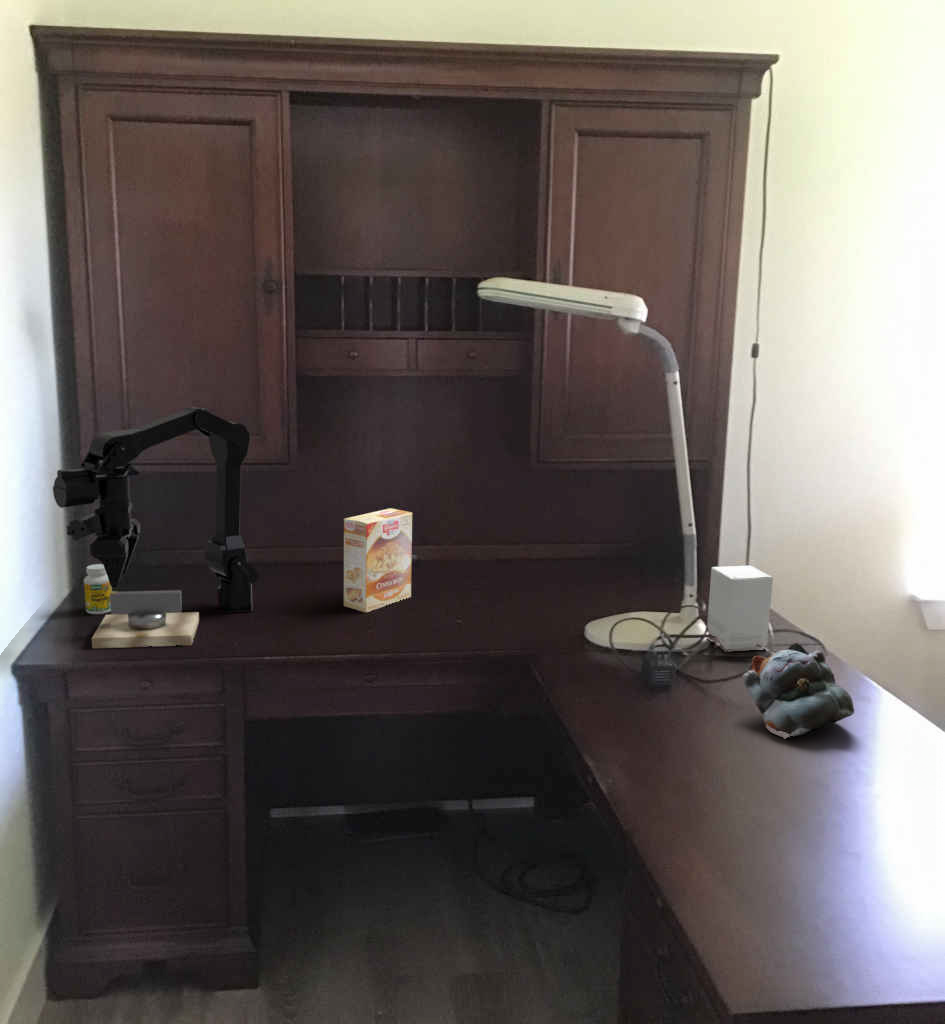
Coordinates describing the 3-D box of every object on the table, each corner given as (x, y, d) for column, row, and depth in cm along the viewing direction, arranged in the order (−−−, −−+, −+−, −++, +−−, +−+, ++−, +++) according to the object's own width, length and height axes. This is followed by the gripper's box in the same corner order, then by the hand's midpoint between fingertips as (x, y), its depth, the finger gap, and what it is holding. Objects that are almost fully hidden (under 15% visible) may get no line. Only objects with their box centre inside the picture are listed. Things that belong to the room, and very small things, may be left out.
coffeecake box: (366, 613, 213) (366, 523, 209) (342, 606, 217) (341, 518, 213) (412, 597, 225) (413, 511, 220) (388, 591, 229) (389, 507, 225)
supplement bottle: (109, 605, 214) (107, 561, 212) (116, 612, 210) (113, 567, 208) (83, 609, 211) (80, 565, 209) (89, 616, 207) (86, 571, 205)
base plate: (199, 621, 205) (198, 611, 205) (191, 645, 192) (191, 634, 191) (106, 624, 202) (105, 614, 202) (92, 648, 189) (91, 637, 188)
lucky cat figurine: (770, 744, 155) (742, 655, 158) (756, 741, 167) (731, 659, 170) (866, 719, 154) (837, 631, 157) (846, 719, 166) (819, 636, 169)
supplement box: (768, 651, 196) (774, 576, 193) (725, 653, 194) (731, 578, 191) (746, 635, 204) (752, 564, 201) (704, 638, 203) (710, 566, 199)
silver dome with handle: (184, 617, 201) (182, 585, 200) (179, 628, 194) (178, 595, 193) (115, 619, 199) (114, 587, 198) (109, 630, 192) (107, 597, 191)
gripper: (79, 491, 198) (84, 567, 202) (57, 511, 180) (63, 595, 184) (138, 490, 200) (142, 566, 203) (122, 510, 182) (127, 594, 185)
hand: (118, 580), depth 194 cm, fingers open, 9 cm apart
